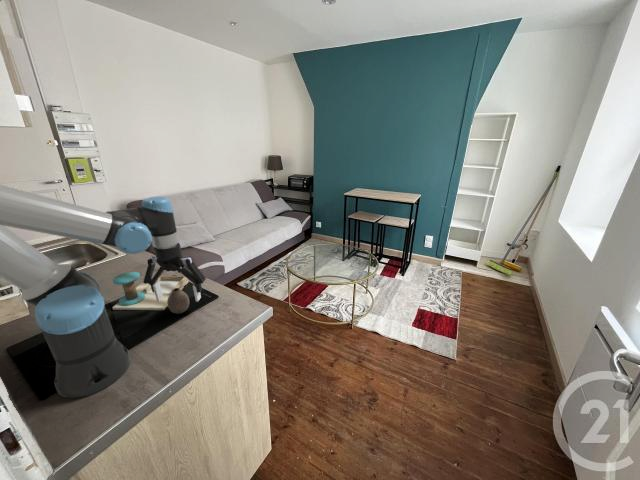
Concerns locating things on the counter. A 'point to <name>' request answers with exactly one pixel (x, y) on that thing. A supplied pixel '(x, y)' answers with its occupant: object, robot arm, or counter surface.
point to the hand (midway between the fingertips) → (179, 299)
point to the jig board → (145, 291)
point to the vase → (178, 301)
